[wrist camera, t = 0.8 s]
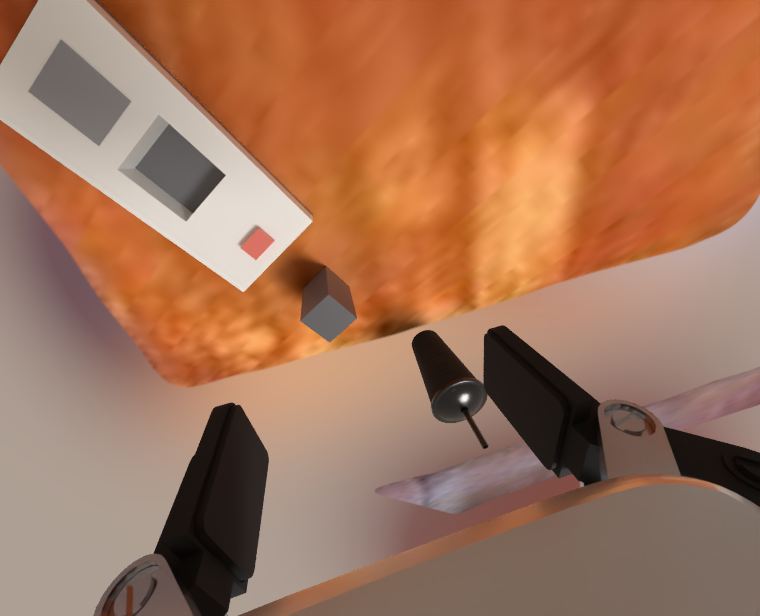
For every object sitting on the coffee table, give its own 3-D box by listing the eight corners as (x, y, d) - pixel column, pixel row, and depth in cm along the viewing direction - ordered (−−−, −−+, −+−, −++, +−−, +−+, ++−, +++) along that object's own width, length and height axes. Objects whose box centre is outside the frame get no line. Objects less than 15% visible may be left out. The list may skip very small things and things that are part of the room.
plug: (325, 265, 38) (328, 294, 31) (349, 286, 41) (357, 318, 33) (303, 287, 39) (300, 320, 32) (327, 307, 41) (329, 342, 34)
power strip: (93, -3, 24) (46, -36, 19) (312, 214, 35) (312, 222, 31) (22, 110, 26) (-34, 102, 22) (249, 279, 37) (241, 295, 33)
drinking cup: (415, 318, 45) (475, 418, 28) (453, 328, 48) (530, 426, 31) (396, 355, 48) (440, 467, 31) (434, 363, 51) (494, 470, 34)
